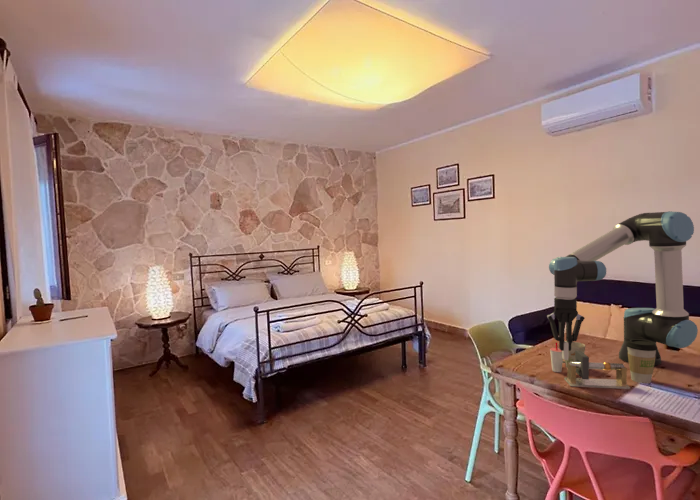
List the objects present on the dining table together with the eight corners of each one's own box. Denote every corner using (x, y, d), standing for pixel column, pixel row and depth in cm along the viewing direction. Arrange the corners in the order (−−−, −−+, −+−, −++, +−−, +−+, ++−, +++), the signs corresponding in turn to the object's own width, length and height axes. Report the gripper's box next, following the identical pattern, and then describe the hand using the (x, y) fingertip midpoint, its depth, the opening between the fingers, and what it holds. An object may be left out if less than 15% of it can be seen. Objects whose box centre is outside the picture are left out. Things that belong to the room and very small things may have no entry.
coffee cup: (658, 387, 148) (659, 347, 148) (626, 382, 154) (626, 343, 153) (655, 378, 157) (656, 340, 156) (624, 374, 162) (625, 337, 161)
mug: (588, 371, 166) (588, 347, 165) (555, 370, 168) (555, 346, 168) (581, 364, 174) (581, 341, 173) (549, 363, 176) (549, 340, 176)
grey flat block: (580, 371, 157) (580, 350, 157) (588, 379, 149) (588, 357, 149) (575, 371, 158) (575, 350, 157) (582, 379, 150) (583, 357, 149)
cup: (550, 372, 166) (550, 343, 165) (548, 368, 171) (548, 340, 170) (565, 373, 164) (565, 344, 163) (563, 369, 169) (563, 341, 168)
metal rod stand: (621, 381, 154) (621, 360, 154) (630, 389, 147) (630, 366, 147) (564, 379, 158) (564, 358, 158) (570, 386, 151) (570, 364, 151)
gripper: (580, 296, 155) (580, 356, 157) (544, 295, 158) (544, 355, 159) (588, 299, 148) (587, 362, 149) (549, 299, 150) (549, 361, 152)
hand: (565, 358), depth 154 cm, fingers closed
